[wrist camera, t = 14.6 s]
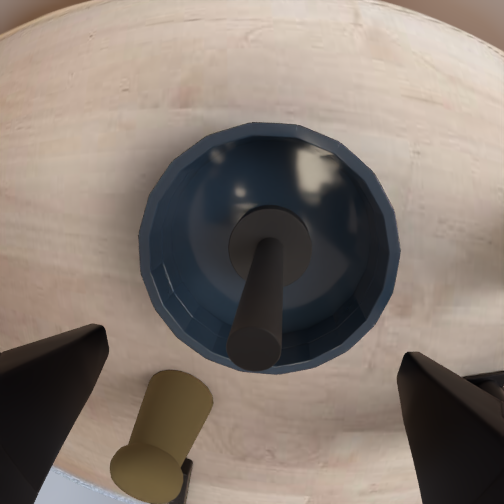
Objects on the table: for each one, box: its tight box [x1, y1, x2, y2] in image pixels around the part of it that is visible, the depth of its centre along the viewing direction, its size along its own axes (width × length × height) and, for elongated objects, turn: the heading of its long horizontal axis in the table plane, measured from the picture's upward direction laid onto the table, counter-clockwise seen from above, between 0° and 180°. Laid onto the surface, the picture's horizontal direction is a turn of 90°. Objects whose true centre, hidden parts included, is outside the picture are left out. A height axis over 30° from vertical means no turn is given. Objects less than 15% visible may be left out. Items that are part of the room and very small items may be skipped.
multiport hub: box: [151, 458, 193, 504], centre depth 29 cm, size 4×14×2 cm, turn 168°
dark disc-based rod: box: [226, 205, 312, 371], centre depth 15 cm, size 5×5×12 cm
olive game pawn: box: [110, 370, 213, 504], centre depth 20 cm, size 6×6×11 cm
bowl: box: [138, 122, 401, 375], centre depth 19 cm, size 14×14×4 cm
